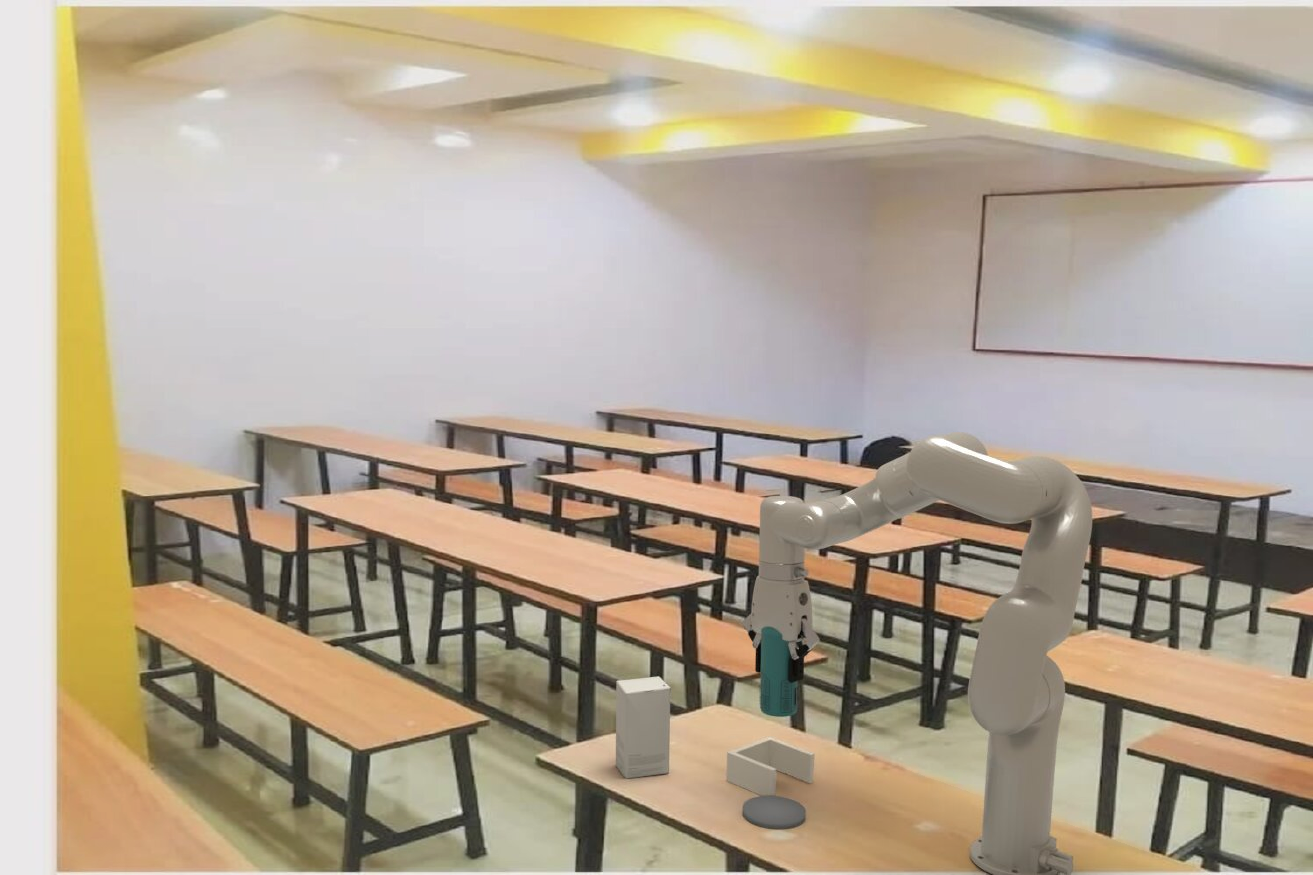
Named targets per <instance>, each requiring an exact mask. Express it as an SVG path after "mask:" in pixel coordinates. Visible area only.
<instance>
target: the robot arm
mask: <svg viewBox="0 0 1313 875" xmlns="http://www.w3.org/2000/svg"><path fill="white" fill-rule="evenodd" d="M940 501H941V502H944V503H946V504H948V505H951V506H953V507H956V508H958V509H961V510H963V511H966V512H969V513H970V514H971V513H972V514H973V515H974V514H975V515H977V516H980V517H981V518H985V519H987V520H990V521H992V522H997V523H1000V524H1006V525H1007V524H1008V525H1011V524H1012V525H1013V524H1020V523H1023V522H1026V521H1029V520H1031V526H1030V530H1029V534H1028V536H1027V538H1026V540H1025V543H1024V546H1023V549H1022V553H1021V559H1020V563H1019V564H1020V565H1019V569H1018V573H1017V577H1016V580H1015V583H1014V586H1013V588H1012V590H1010V591H1008V592H1007V593H1005V594H1003V595H1001V596H999V597H998V598H997V599H995V600H994V601H993V603H991V604H990V606H989V607H988V608H987V611H986V613H985V614H984V617H983V619H982V621H981V624H980V628H979V633H978V637H977V642H976V643H977V644H976V647H975V651H974V656H973V661H972V668H971V670H970V671H971V672H970V676H969V682H968V689H967V701H968V702H967V703H968V707H969V710H970V713H971V715H972V717H973V719H974V720H975V722H977V724H978V725H979V726H980V727H981V728H982V729H983V730H985V731H987V732H988V740H987V750H986V751H987V752H986V762H985V763H986V768H985V779H984V780H985V783H984V796H983V797H984V798H983V799H984V800H983V812H982V813H983V814H982V825H981V826H982V827H981V829H982V830H981V837H979V838H977V839H976V840H974V841H973V842H972V843H971V844H970V847H969V856H970V859H971V861H972V862H973V863H974V864H975V865H976V866H977V867H978V868H980V869H981V870H983V871H984V872H986V873H989V874H991V875H1057V874H1058V873H1061V874H1063V875H1072V874H1073V871H1074V868H1075V867H1074V862H1073V861H1074V857H1073V855H1071V854H1069V853H1066V852H1062V851H1059V849H1058V848H1057V841H1058V840H1057V838H1056V837H1053V836H1051V826H1052V812H1053V799H1054V798H1053V797H1054V783H1055V771H1056V770H1055V768H1056V761H1057V760H1056V759H1057V749H1058V748H1057V747H1058V738H1059V732H1060V731H1059V730H1060V725H1061V720H1062V715H1063V710H1064V706H1065V705H1064V704H1065V697H1066V684H1065V683H1066V682H1065V679H1064V676H1063V673H1062V671H1061V669H1060V667H1059V665H1058V664H1057V662H1055V661H1054V660H1053V659H1052V658H1051V657H1050V656H1048V655H1047V654H1048V653H1049V652H1050V651H1051V650H1053V649H1055V648H1057V647H1058V646H1059V645H1061V644H1062V643H1063V642H1065V641H1066V640H1067V638H1068V637H1069V635H1070V633H1071V631H1072V628H1073V625H1074V619H1075V613H1076V608H1077V603H1078V600H1079V599H1078V598H1079V595H1080V590H1081V585H1082V581H1083V576H1084V569H1085V564H1086V559H1087V555H1088V551H1089V546H1090V542H1091V536H1092V530H1093V529H1092V528H1093V509H1092V503H1091V499H1090V496H1089V493H1088V491H1087V488H1086V486H1084V484H1083V482H1082V480H1081V479H1080V478H1079V476H1077V474H1076V473H1075V472H1074V471H1073V470H1071V469H1070V468H1069V467H1068V466H1067V465H1065V464H1063V463H1062V462H1060V461H1058V460H1057V459H1054V458H1051V457H1047V456H1039V455H1038V456H1028V457H1023V458H1018V459H1015V460H1012V461H1008V462H1007V461H1005V460H1001V459H998V458H996V457H992V456H989V454H988V451H987V449H986V447H985V446H984V444H983V442H982V441H981V440H980V439H979V438H977V437H976V436H974V435H972V434H970V433H967V432H960V431H955V432H954V431H953V432H948V433H942V434H935V435H930V436H928V437H925V438H923V439H922V440H920V441H918V442H917V443H916V444H915V445H914V446H913V447H912V449H911V450H910V452H908V453H906V454H904V455H902V456H899V457H897V458H895V459H893V460H890V461H888V462H886V463H885V464H883V465H881V466H880V467H878V469H877V471H876V473H875V477H874V478H872V479H871V480H870V481H868V482H866V483H864V484H862V485H860V486H858V487H856V488H854V489H852V490H850V491H847V492H845V493H843V494H841V495H838V496H834V497H831V498H825V499H821V500H818V501H812V502H807V503H805V501H804V500H803V499H802V498H800V497H797V496H792V495H791V496H790V495H770V496H767V497H765V498H763V499H762V501H761V503H760V507H759V540H758V541H759V547H758V575H757V576H756V579H755V582H754V586H753V593H752V601H751V613H750V614H749V615H747V616H746V618H745V619H743V621H742V625H743V627H744V629H745V631H746V632H747V636H748V637H749V639H750V640H751V642H752V647H753V649H754V650H755V661H754V662H755V668H754V669H755V672H756V673H761V672H760V671H761V668H760V667H761V660H760V659H761V629H762V628H764V627H773V628H775V629H776V630H778V631H779V632H780V633H781V634H782V636H783V637H782V639H783V640H784V641H786V642H787V643H788V646H789V649H790V653H791V656H792V658H790V659H789V666H788V681H789V682H791V683H793V682H796V681H798V682H799V681H802V680H803V679H804V674H805V673H804V672H805V657H807V656H808V654H809V653H810V652H811V651H812V650H813V649H814V648H815V647H816V646H817V645H818V643H819V642H820V637H819V635H818V634H817V633H816V632H815V630H814V629H813V608H812V607H813V606H812V596H811V590H810V585H809V581H808V580H805V578H807V577H808V576H809V570H808V568H805V559H806V557H805V556H806V555H805V554H806V553H805V551H806V549H807V550H812V551H813V550H815V551H816V550H822V549H825V548H829V547H831V546H835V545H839V544H842V543H846V542H849V541H852V540H854V539H856V538H859V537H861V536H863V535H865V534H868V533H870V532H872V531H875V530H877V529H880V528H881V527H884V526H886V525H888V524H890V523H892V522H894V521H896V520H899V519H903V518H904V517H906V516H908V515H911V514H913V513H916V512H918V511H920V510H922V509H924V508H926V507H928V506H930V505H933V504H935V503H937V502H940ZM804 639H806V641H805V640H804ZM796 643H797V645H798V650H797V647H796ZM819 644H820V643H819Z"/></svg>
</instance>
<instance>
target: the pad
mask: <svg viewBox="0 0 1313 875" xmlns="http://www.w3.org/2000/svg"><path fill="white" fill-rule="evenodd" d="M806 814H807V810H806V808H805V806H804V805H803V804H802V803H800V802H799V801H797V800H795V799H792V798H789V797H785V796H781V795H779V796H778V795H775V796H761V795H759V796H755V797H754V796H753V797H751V798H749V799H747V800H745V801H744V803H743V804H742V816H743V818H744V819H745V820H746V821H747V822H749V824H752V825H755V826H757V827H761V828H765V829H771V830H786V829H791V828H792V829H793V828H795V827H796V828H797V827H799V826H801V825H802V824H803V823H804V822H805V821H806V816H807V815H806Z"/></svg>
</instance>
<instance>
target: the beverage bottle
mask: <svg viewBox="0 0 1313 875" xmlns="http://www.w3.org/2000/svg"><path fill="white" fill-rule="evenodd" d="M782 637H783V636H782V634H781V633H780V632H779V631H778V630H776V629H775V628H773V627H764V628H762V629H761V659H760V660H761V667H760V668H761V671H760V672H759V673H760V674H759V675H760V678H759V680H760V683H759V690H758V692H759V698H758V699H759V700H758V701H759V708H760V711H761V713H762V714H764V715H767V716H770V717H778V718H780V717H781V718H783V717H785V718H786V717H792V716H794V715H795V714H796V713H797V711H798V707H799V705H798V704H799V698H798V691H799V681H796V682H793V683H791V682H789V681H788V666H789V659H790V658H792V656H791V653H790V649H789V646H788V643H787V642H786V641H784V640H783V639H782ZM796 647H797V650H798V649H799V648H798V645H797V643H796Z"/></svg>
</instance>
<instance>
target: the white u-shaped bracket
mask: <svg viewBox="0 0 1313 875" xmlns="http://www.w3.org/2000/svg"><path fill="white" fill-rule="evenodd" d="M726 753H727V755H726V773H725V774H726V777H725V778H726V779H725V780H726V782H729V783H732V784H734V785H736V786H738V787H741V788H743V789H745V790H747V791H749V792H752V793H753V794H757V795H759V796H776V788H777V787H776V786H777V781H776V780H777V772H781V773H783V774H785V773H787V774H788V776H790V775H791V776H790V777H792V776H793V777H792V778H795V779H797V780H799V781H802V780H803V782H805V783H808V784H812V783H814V773H815V772H814V771H815V753H814V752H811V751H808V750H806V749H803V748H801V747H798V746H796V745H792V744H790V743H787V742H784V741H783V740H780V739H777V738H773V737H771V736H768V737H765V738H763V739H759V740H757V741H755V742H754V741H753V742H752V743H748V744H746V745H744V746H743V745H742V746H741V747H738V748H735V749H733V750H729V751H727V752H726ZM787 774H786V775H787Z"/></svg>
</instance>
